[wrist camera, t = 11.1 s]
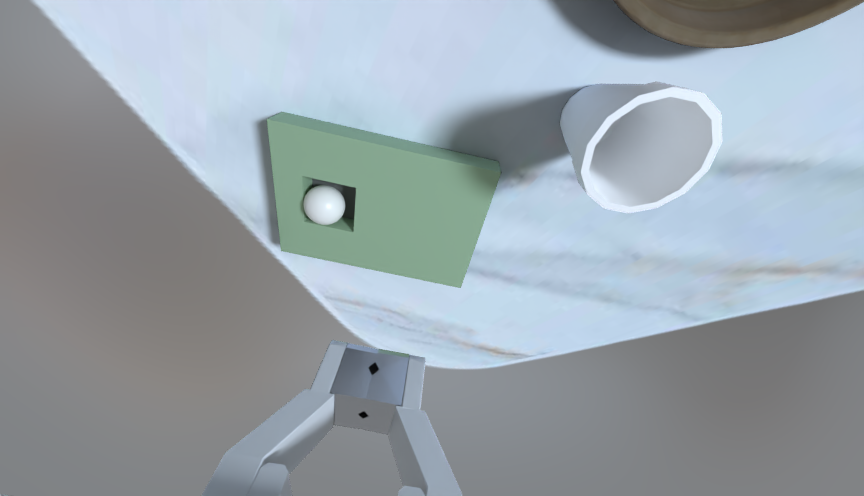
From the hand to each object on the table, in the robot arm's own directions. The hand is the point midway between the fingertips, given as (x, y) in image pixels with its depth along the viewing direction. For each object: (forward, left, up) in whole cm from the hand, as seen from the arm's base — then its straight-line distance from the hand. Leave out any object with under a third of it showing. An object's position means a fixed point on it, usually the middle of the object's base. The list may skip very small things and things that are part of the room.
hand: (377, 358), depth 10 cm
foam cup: (-4, +16, -31) cm, 35 cm away
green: (+12, -5, -31) cm, 34 cm away
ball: (+12, -12, -28) cm, 33 cm away
